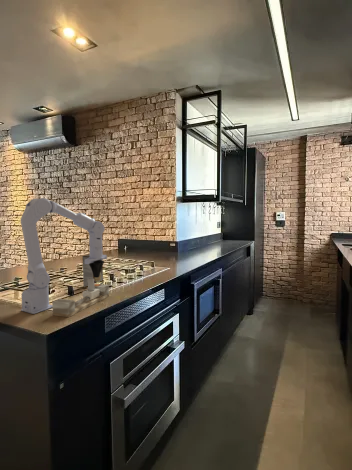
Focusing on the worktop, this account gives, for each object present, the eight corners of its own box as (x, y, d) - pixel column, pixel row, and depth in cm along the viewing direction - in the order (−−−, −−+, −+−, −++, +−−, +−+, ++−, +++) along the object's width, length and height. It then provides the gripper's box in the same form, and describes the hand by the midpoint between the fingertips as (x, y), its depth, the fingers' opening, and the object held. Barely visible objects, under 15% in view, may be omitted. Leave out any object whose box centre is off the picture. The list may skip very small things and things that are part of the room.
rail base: (68, 317, 109) (67, 303, 108) (52, 315, 111) (52, 301, 110) (108, 296, 135) (108, 285, 135) (95, 294, 137) (95, 283, 137)
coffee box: (93, 282, 161) (92, 253, 159) (103, 283, 159) (102, 253, 157) (82, 286, 152) (82, 255, 150) (93, 287, 150) (92, 256, 148)
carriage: (91, 299, 124) (91, 281, 124) (82, 298, 126) (82, 280, 125) (99, 295, 130) (99, 278, 129) (91, 294, 132) (90, 277, 131)
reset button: (97, 291, 133) (97, 285, 133) (93, 291, 134) (93, 285, 134) (100, 290, 135) (100, 284, 135) (96, 290, 136) (96, 283, 136)
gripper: (94, 250, 125) (94, 281, 126) (112, 246, 138) (112, 274, 139) (80, 249, 127) (80, 280, 128) (99, 245, 141) (99, 273, 142)
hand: (96, 277), depth 134 cm, fingers closed
